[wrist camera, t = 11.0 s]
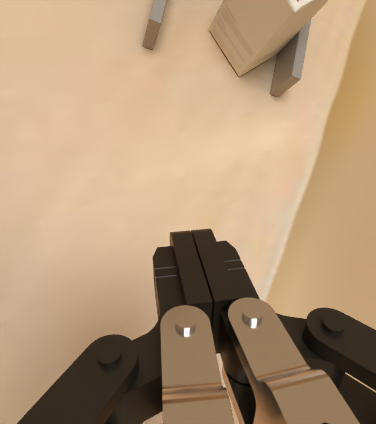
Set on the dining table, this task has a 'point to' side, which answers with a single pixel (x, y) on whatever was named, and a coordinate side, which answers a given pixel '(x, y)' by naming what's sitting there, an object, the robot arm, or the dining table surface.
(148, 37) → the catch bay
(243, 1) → the supplement box
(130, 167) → the dining table surface
